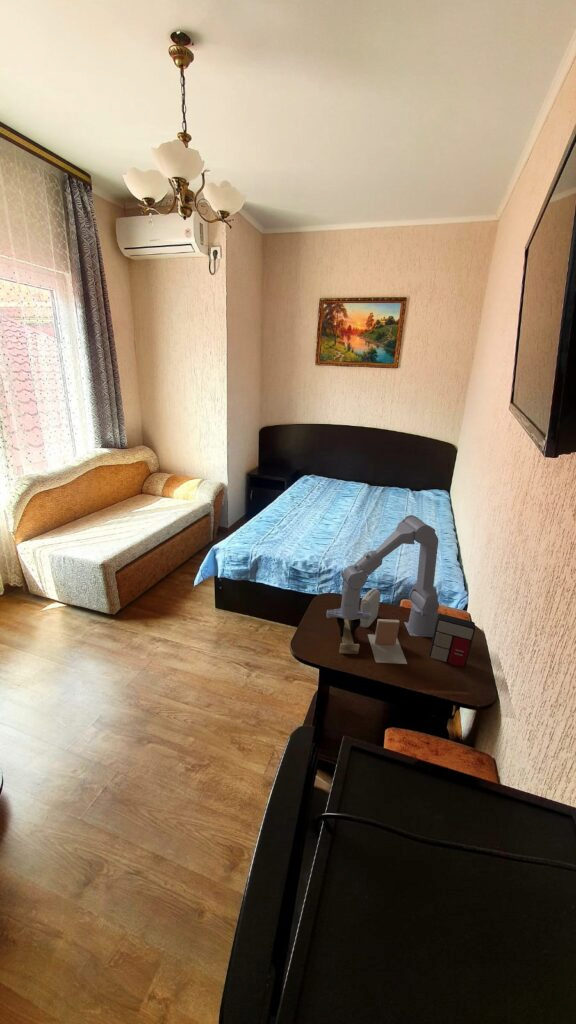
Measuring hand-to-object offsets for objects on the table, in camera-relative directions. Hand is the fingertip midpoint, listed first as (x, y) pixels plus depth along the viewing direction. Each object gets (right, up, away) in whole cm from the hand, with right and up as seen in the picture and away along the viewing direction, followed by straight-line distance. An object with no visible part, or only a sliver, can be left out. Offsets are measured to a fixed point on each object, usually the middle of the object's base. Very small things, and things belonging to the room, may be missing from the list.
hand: (345, 635), depth 138 cm
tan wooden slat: (0, -1, 0) cm, 1 cm away
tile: (+13, -2, -1) cm, 13 cm away
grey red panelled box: (+32, -6, -6) cm, 33 cm away
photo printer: (+10, +2, +11) cm, 15 cm away
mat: (+13, -4, -3) cm, 14 cm away
